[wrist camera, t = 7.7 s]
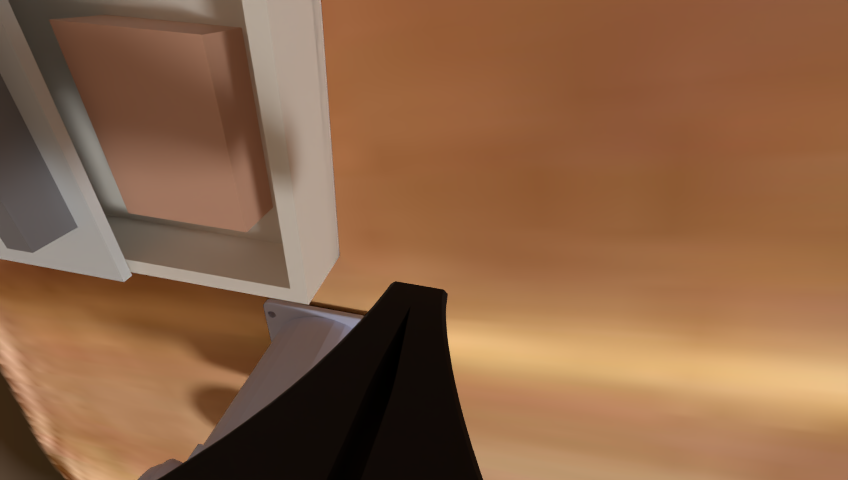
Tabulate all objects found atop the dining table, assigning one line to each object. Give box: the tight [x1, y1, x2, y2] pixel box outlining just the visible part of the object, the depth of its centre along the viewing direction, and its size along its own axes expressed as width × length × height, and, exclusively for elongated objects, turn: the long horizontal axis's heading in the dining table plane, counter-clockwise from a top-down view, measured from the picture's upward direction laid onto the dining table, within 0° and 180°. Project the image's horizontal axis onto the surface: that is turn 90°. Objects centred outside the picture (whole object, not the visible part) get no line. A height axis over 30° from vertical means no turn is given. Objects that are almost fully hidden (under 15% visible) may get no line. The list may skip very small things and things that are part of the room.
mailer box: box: [8, 0, 339, 305], centre depth 17 cm, size 14×18×4 cm
